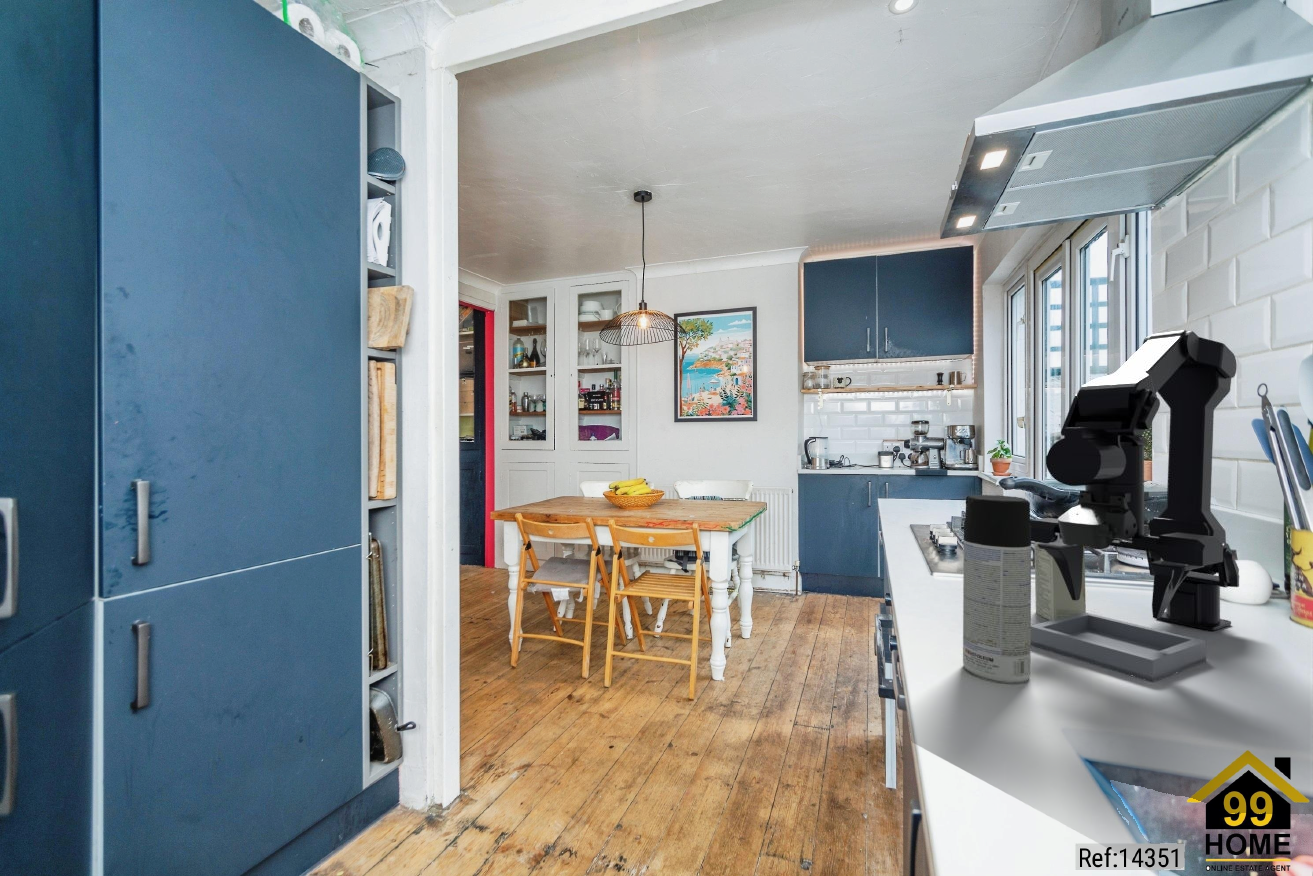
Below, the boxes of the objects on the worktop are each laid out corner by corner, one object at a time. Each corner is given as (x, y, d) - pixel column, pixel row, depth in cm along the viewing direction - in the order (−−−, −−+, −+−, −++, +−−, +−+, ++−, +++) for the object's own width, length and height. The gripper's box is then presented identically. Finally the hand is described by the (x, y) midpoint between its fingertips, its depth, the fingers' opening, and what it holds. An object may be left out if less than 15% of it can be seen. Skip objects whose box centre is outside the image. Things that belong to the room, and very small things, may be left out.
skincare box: (1087, 626, 82) (1087, 540, 82) (1053, 624, 83) (1053, 539, 83) (1065, 613, 88) (1065, 533, 88) (1033, 611, 89) (1033, 532, 89)
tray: (1084, 630, 80) (1084, 612, 80) (1206, 662, 69) (1206, 641, 69) (1029, 645, 74) (1029, 626, 74) (1152, 683, 63) (1152, 660, 63)
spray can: (1022, 666, 67) (1021, 495, 68) (1039, 689, 61) (1039, 501, 61) (958, 659, 70) (958, 493, 70) (968, 681, 63) (968, 499, 63)
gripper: (999, 480, 76) (1000, 598, 76) (1178, 491, 60) (1178, 642, 60) (1048, 477, 81) (1048, 588, 81) (1225, 487, 65) (1225, 626, 65)
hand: (1114, 608), depth 72 cm, fingers open, 8 cm apart
